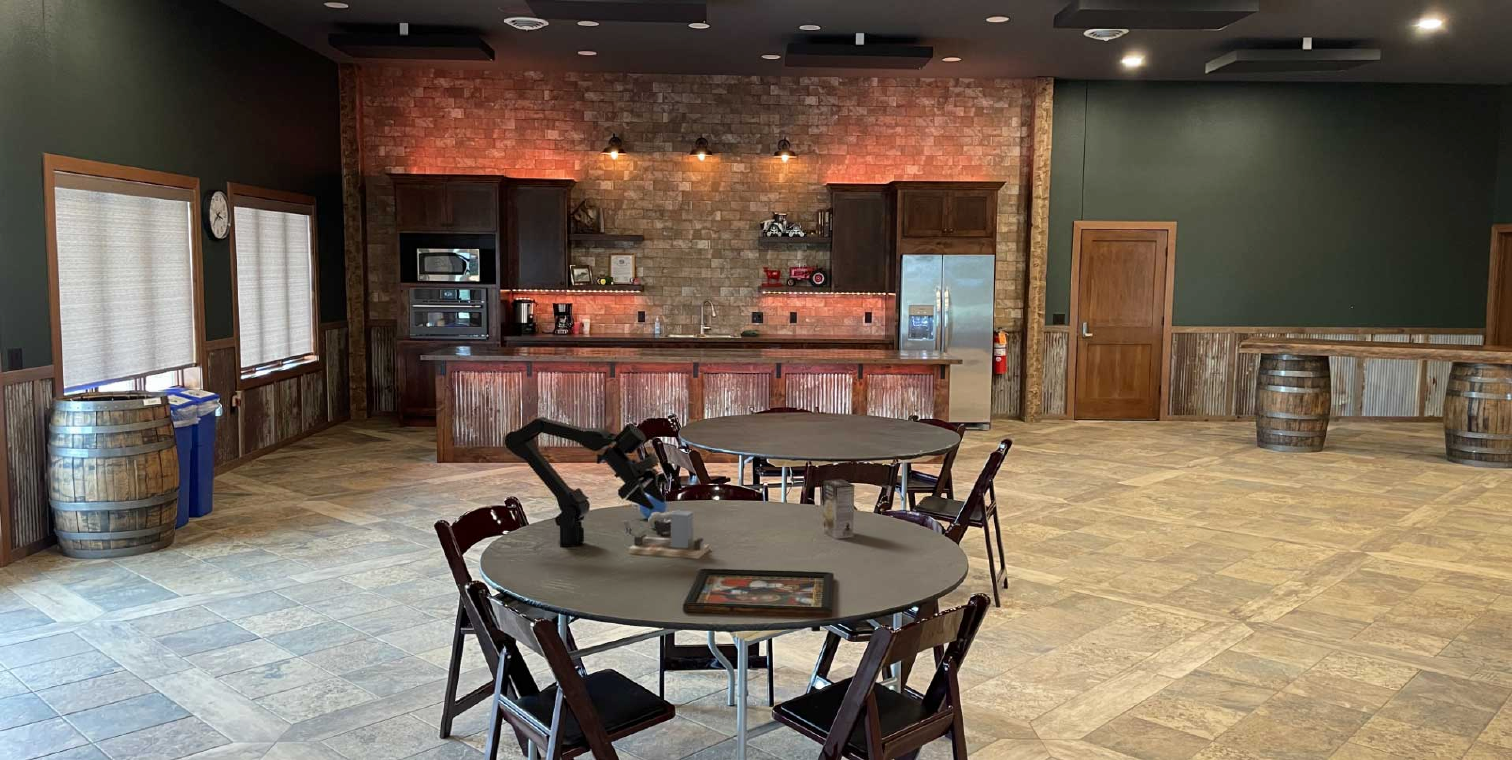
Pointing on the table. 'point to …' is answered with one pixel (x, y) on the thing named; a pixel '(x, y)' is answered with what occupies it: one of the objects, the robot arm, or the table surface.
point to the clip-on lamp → (656, 522)
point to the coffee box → (838, 508)
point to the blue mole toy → (647, 512)
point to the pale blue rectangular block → (681, 528)
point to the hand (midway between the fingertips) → (658, 505)
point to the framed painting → (762, 592)
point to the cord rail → (667, 547)
